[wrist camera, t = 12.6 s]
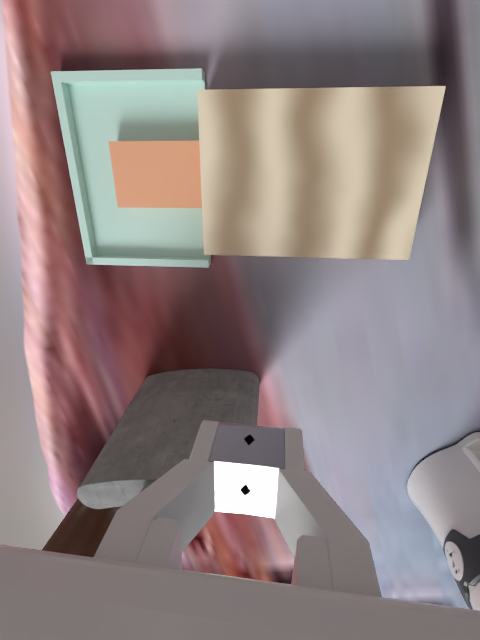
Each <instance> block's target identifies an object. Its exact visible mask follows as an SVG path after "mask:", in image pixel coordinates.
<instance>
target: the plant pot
mask: <svg viewBox="0 0 480 640" xmlns="http://www.w3.org/2000/svg"><path fill="white" fill-rule="evenodd" d="M121 507H122V506H120V507H112V508H105V509H93V508H90V507H88V506H86V505H84V504H83V503H82V502H81V501H80V500H79V499H77V501H76V502H75V503H74V505H73V506H72V508H71V509H70V511H69V512H68V513H67V515H66V516H65V518H64V519H63V521H62V522H61V523H60V525H59V526H58V528H57V529H56V531H55V532H54V534H53V535H52V537H51V538H50V539H49V541H48V542H47V544H46V545H45V547H44V548H43V549H42V550H43V551H50V552H58V553H65V554H72V555H79V556H87V557H94V555H95V553H96V551H97V549H98V547H99V545H100V543H101V541H102V539H103V537H104V535H105V533H106V531H107V529H108V527H109V525H110V523H111V521H112V519H113V517H114V515H115V513H116V511H117V510H118V509H119V508H121Z"/></svg>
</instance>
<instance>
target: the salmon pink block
mask: <svg viewBox="0 0 480 640" xmlns="http://www.w3.org/2000/svg"><path fill="white" fill-rule="evenodd" d="M108 142H109V149H110V156H111V163H112V170H113V177H114V184H115V191H116V198H117V205H118V208H202V196H201V171H200V146H199V140H195V141H108Z"/></svg>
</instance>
